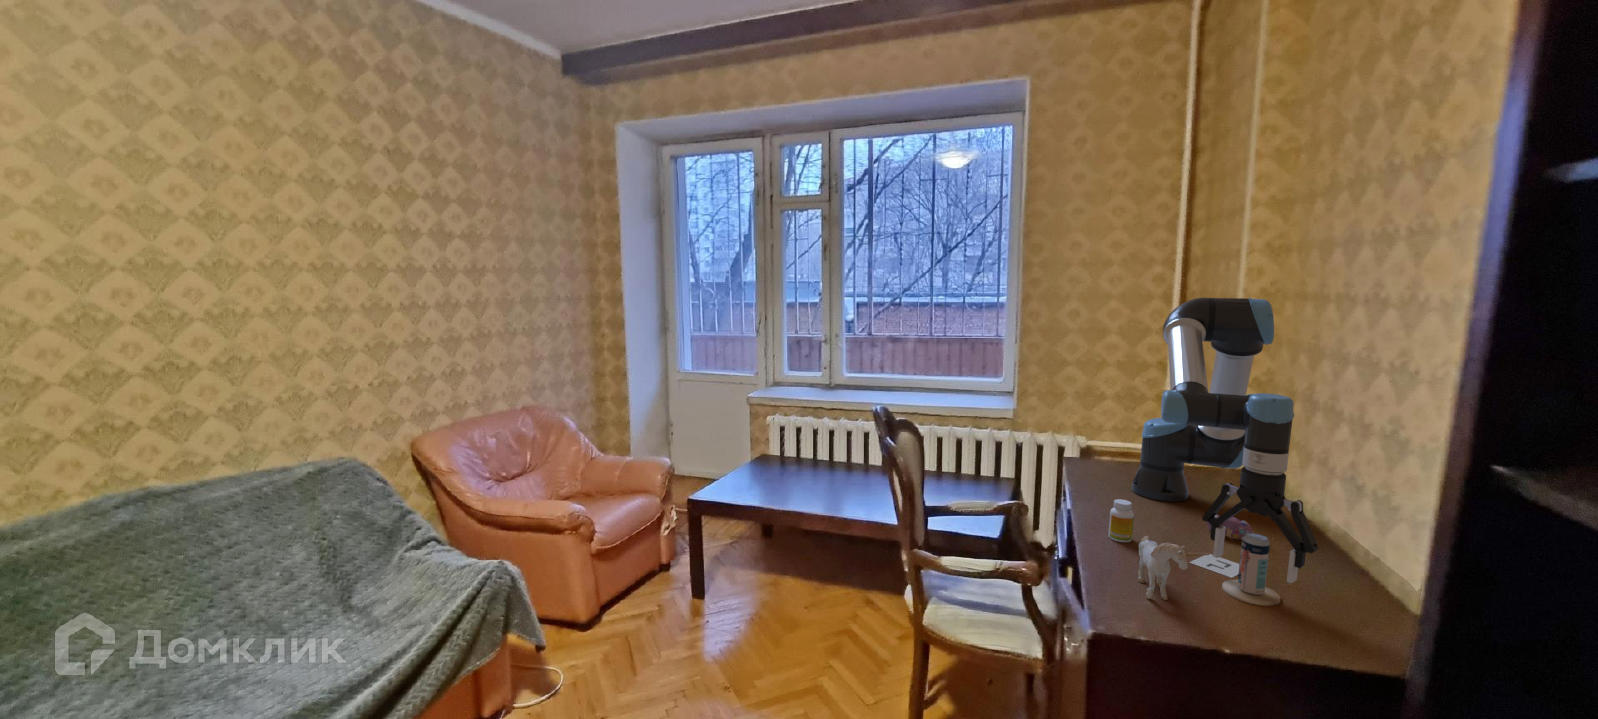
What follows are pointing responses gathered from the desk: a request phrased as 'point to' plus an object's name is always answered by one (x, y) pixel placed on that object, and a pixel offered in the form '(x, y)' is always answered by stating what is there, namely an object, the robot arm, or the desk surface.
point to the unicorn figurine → (1160, 563)
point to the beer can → (1253, 563)
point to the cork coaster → (1263, 599)
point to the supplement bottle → (1121, 521)
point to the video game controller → (1235, 527)
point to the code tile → (1217, 565)
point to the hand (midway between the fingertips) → (1253, 568)
